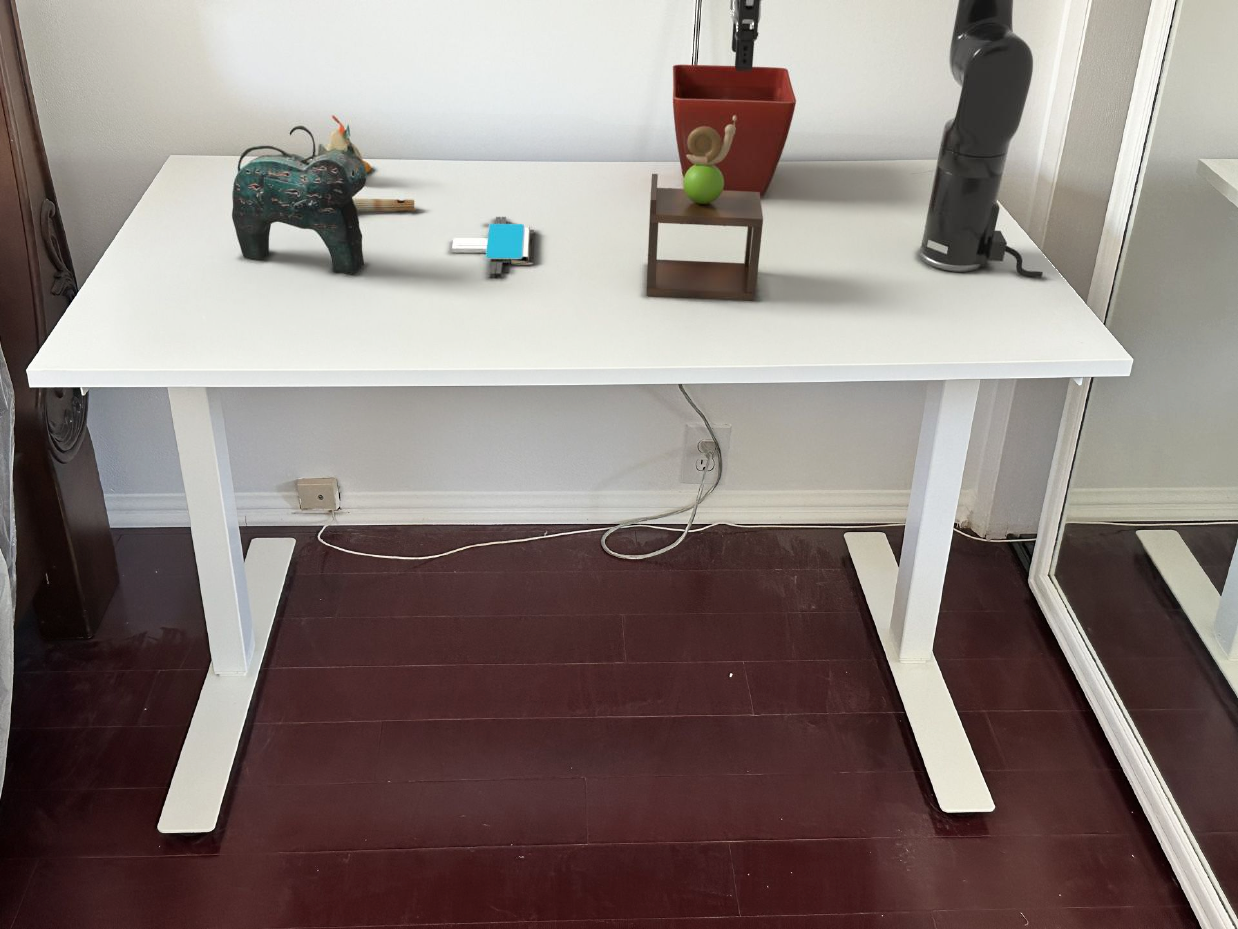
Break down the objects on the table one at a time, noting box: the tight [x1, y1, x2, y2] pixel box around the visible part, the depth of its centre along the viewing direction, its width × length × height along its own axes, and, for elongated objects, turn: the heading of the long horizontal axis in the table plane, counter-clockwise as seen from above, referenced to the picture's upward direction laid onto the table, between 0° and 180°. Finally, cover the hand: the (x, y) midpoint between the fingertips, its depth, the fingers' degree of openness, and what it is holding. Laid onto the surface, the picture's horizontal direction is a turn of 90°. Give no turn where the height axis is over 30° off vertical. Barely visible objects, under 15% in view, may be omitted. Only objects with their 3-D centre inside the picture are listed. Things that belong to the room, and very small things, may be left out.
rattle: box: [325, 115, 372, 174], centre depth 191 cm, size 8×8×12 cm
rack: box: [645, 173, 764, 302], centre depth 161 cm, size 15×10×14 cm, turn 87°
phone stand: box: [451, 216, 535, 278], centre depth 173 cm, size 20×12×2 cm, turn 3°
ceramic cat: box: [231, 125, 368, 275], centre depth 161 cm, size 20×6×20 cm, turn 74°
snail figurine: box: [682, 115, 737, 204], centre depth 155 cm, size 5×6×12 cm
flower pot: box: [672, 64, 797, 197], centre depth 192 cm, size 19×19×17 cm
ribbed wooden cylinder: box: [352, 197, 415, 212], centre depth 182 cm, size 4×3×20 cm
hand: (741, 60), depth 152 cm, fingers open, 8 cm apart
